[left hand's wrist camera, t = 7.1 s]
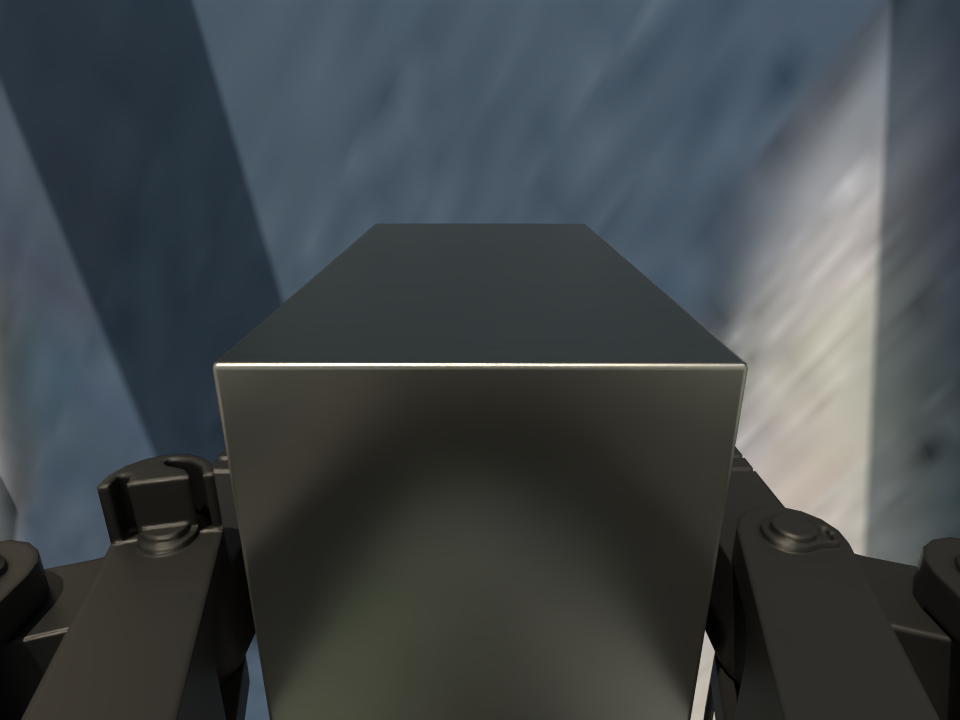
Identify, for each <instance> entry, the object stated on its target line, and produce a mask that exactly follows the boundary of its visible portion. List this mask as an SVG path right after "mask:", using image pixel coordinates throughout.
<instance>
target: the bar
mask: <svg viewBox="0 0 960 720" xmlns="http://www.w3.org/2000/svg"><path fill="white" fill-rule="evenodd" d="M747 370H748V368H747V364H746V362H744V361H743V360H742V359H741V358H740V357H739V356H737V355H736V354H735V353H734V352H733V351H732V350H731V349H729V348H728V347H727V346H726V345H725V344H724V343H722V342H721V341H720V340H719V339H718V338H717V337H715V336H714V335H713V334H712V333H711V332H710V331H709V330H707V329H706V328H705V327H704V326H703V325H702V324H700V323H699V322H698V321H697V320H696V319H695V318H693V317H692V316H691V315H690V314H689V313H688V312H686V311H685V310H684V309H683V308H682V307H681V306H680V305H678V304H677V303H676V302H675V301H674V300H673V299H671V298H670V297H669V296H668V295H667V294H666V293H664V292H663V291H662V290H661V289H660V288H659V287H658V286H656V285H655V284H654V283H653V282H652V281H651V280H649V279H648V278H647V277H646V276H645V275H644V274H642V273H641V272H640V271H639V270H638V269H637V268H635V267H634V266H633V265H632V264H631V263H630V262H629V261H627V260H626V259H625V258H624V257H623V256H622V255H620V254H619V253H618V252H617V251H616V250H615V249H613V248H612V247H611V246H610V245H609V244H608V243H607V242H605V241H604V240H603V239H602V238H601V237H600V236H598V235H597V234H596V233H595V232H594V231H593V230H591V229H590V228H589V227H588V226H587V225H586V224H375V225H374V226H373V227H371V228H370V229H369V230H368V231H367V232H366V233H365V234H363V235H362V236H361V237H360V238H359V239H358V240H356V241H355V242H354V243H353V244H352V245H351V246H349V247H348V248H347V249H346V250H345V251H344V252H342V253H341V254H340V255H339V256H338V257H337V258H335V259H334V260H333V261H332V262H331V263H330V264H328V265H327V266H326V267H325V268H324V269H323V270H322V271H320V272H319V273H318V274H317V275H316V276H315V277H313V278H312V279H311V280H310V281H309V282H308V283H306V284H305V285H304V286H303V287H302V288H301V289H299V290H298V291H297V292H296V293H295V294H294V295H292V296H291V297H290V298H289V299H288V300H287V301H286V302H284V303H283V304H282V305H281V306H280V307H279V308H277V309H276V310H275V311H274V312H273V313H272V314H270V315H269V316H268V317H267V318H266V319H265V320H263V321H262V322H261V323H260V324H259V325H258V326H256V327H255V328H254V329H253V330H252V331H251V332H250V333H248V334H247V335H246V336H245V337H244V338H243V339H241V340H240V341H239V342H238V343H237V344H236V345H234V346H233V347H232V348H231V349H230V350H229V351H227V352H226V353H225V354H224V355H223V356H222V357H220V358H219V359H218V360H217V361H216V362H215V363H214V365H213V373H214V380H215V386H216V392H217V398H218V404H219V410H220V416H221V423H222V429H223V435H224V441H225V447H226V453H227V459H228V465H229V472H230V478H231V484H232V490H233V496H234V502H235V508H236V514H237V521H238V527H239V533H240V539H241V545H242V551H243V557H244V563H245V570H246V576H247V582H248V588H249V594H250V600H251V606H252V613H253V619H254V625H255V631H256V637H257V643H258V649H259V655H260V662H261V668H262V674H263V680H264V686H265V692H266V698H267V705H268V711H269V717H270V720H690V719H691V713H692V706H693V700H694V694H695V688H696V682H697V676H698V670H699V664H700V658H701V651H702V645H703V639H704V633H705V627H706V621H707V615H708V609H709V602H710V596H711V590H712V584H713V578H714V572H715V566H716V560H717V554H718V547H719V541H720V535H721V529H722V523H723V517H724V511H725V505H726V499H727V492H728V486H729V480H730V474H731V468H732V462H733V456H734V450H735V443H736V437H737V431H738V425H739V419H740V413H741V407H742V401H743V395H744V388H745V382H746V376H747Z"/></svg>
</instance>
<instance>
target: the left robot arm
mask: <svg viewBox="0 0 960 720" xmlns="http://www.w3.org/2000/svg"><path fill="white" fill-rule="evenodd" d="M97 490H98V493H99V497H100V501H101V505H102V509H103V513H104V517H105V521H106V525H107V529H108V533H109V537H110V541H111V545H110V547H109V549H108V551H107V553H106V555H105V557H102V558H98V559H95V560H90V561H85V562H80V563H75V564H70V565H64V566H59V567H54V568H49V569H44V568H43V565H42V562H41V558H40V555H39V552H38V550H37V549H36V548H35V547H34V546H32V545H31V544H30V543H27V542H21V541H14V540H9V541H0V720H245V713H246V705H247V698H248V690H249V683H250V681H249V673H248V666H247V660H246V652H247V650H248V648H249V646H250V643H251V641H252V639H253V637H254V635H255V632H256V631H255V625H254V619H253V613H252V606H251V600H250V594H249V588H248V582H247V576H246V570H245V563H244V557H243V551H242V545H241V539H240V533H239V527H238V521H237V514H236V508H235V502H234V496H233V490H232V484H231V478H230V472H229V465H228V459H227V453H226V449H225V450H224V451H223V452H222V454H221V455H220V456H219V460H216V461H215V462H214V464H211V463H210V462H209V461H207V460H206V459H205V458H203V457H198V456H194V455H189V454H180V455H164V456H159V457H154V458H148V459H145V460H142V461H139V462H136V463H133V464H131V465H128V466H125V467H123V468H122V469H120V470H118V471H116V472H114V473H113V474H111V475H109V476H108V477H107V478H106V479H105V480H104V481H103V482H102V483H101V484H100V485H99V486H98V487H97ZM705 630H706V633H707V635H708V637H709V639H710V641H711V644H712V646H713V648H714V650H715V655H714V660H713V666H712V672H711V678H710V683H709V689H708V695H707V701H706V706H705V713H704V720H713V715H714V712H715V719H716V720H960V538H951V537H949V538H942V539H935V540H932V541H931V542H929V543H928V544H927V545H925V546H924V547H923V550H922V554H921V557H920V560H919V563H918V567H916V566H910V565H905V564H900V563H895V562H890V561H885V560H880V559H875V558H869V557H865V556H861V555H857V554H854V552H853V550H852V548H851V546H850V544H849V543H848V542H847V540H846V539H845V538H844V537H843V536H842V534H841V533H840V532H839V531H838V530H837V529H835V528H834V527H832V526H831V525H829V524H828V523H826V522H825V521H823V520H821V519H819V518H816V517H814V516H812V515H809V514H807V513H804V512H802V511H797V510H793V509H788V508H785V507H784V506H783V505H782V503H781V502H780V501H779V500H778V498H777V497H776V496H775V495H774V494H773V492H772V491H771V490H770V489H769V487H768V486H767V485H766V484H765V482H764V481H763V480H762V479H761V478H760V476H759V475H758V474H757V473H756V471H753V468H752V466H751V465H750V464H749V463H748V462H747V460H746V459H745V458H742V454H741V453H740V452H739V451H738V449H737V448H736V447H735V450H734V456H733V462H732V468H731V474H730V480H729V486H728V492H727V499H726V505H725V511H724V517H723V523H722V529H721V535H720V541H719V547H718V554H717V560H716V566H715V572H714V578H713V584H712V590H711V596H710V602H709V609H708V615H707V621H706V627H705Z"/></svg>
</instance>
